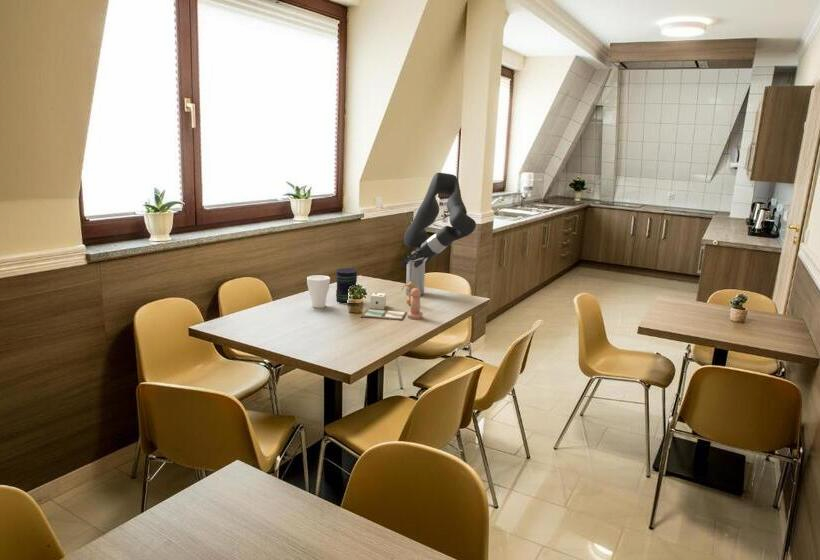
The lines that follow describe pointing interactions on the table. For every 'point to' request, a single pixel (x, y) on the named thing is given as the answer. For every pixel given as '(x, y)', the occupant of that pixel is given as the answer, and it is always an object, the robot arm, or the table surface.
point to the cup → (318, 289)
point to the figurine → (409, 291)
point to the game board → (383, 314)
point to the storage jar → (344, 283)
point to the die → (378, 301)
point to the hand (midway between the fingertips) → (408, 265)
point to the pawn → (415, 304)
